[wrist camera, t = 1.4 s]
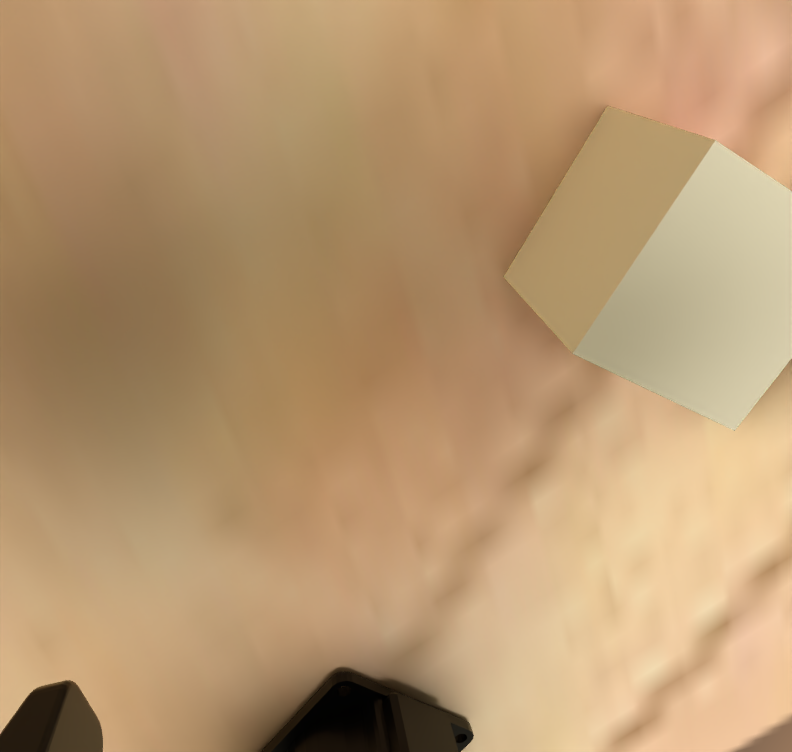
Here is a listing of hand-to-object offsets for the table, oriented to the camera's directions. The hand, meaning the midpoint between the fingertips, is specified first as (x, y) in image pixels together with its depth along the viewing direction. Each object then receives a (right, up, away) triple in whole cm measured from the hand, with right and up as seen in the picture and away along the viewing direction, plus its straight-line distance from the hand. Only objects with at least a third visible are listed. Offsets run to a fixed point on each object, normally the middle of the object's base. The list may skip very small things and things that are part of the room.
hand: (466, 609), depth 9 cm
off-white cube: (+5, +7, +12) cm, 15 cm away
